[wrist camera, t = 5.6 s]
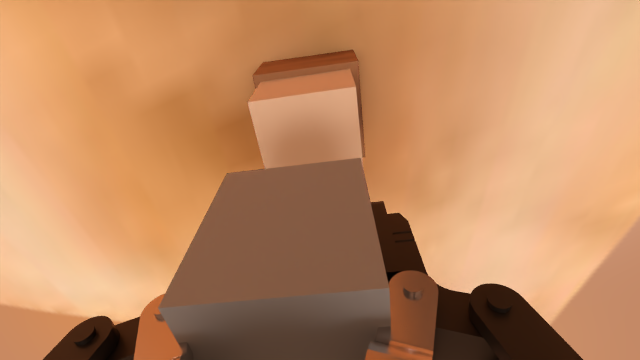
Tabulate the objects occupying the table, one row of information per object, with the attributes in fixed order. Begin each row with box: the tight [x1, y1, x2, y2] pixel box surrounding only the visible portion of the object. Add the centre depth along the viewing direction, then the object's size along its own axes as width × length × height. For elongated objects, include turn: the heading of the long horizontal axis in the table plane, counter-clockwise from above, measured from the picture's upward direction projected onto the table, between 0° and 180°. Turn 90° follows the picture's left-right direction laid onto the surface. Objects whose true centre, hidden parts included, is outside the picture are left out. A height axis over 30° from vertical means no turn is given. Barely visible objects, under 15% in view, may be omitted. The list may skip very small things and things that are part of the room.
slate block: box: [158, 158, 391, 360], centre depth 11 cm, size 5×5×6 cm
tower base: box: [253, 50, 365, 158], centre depth 25 cm, size 7×7×4 cm
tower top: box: [248, 69, 363, 169], centre depth 21 cm, size 6×6×4 cm
